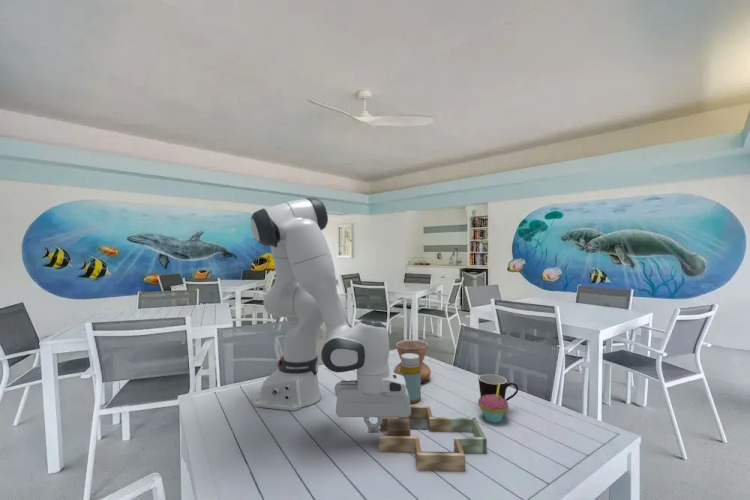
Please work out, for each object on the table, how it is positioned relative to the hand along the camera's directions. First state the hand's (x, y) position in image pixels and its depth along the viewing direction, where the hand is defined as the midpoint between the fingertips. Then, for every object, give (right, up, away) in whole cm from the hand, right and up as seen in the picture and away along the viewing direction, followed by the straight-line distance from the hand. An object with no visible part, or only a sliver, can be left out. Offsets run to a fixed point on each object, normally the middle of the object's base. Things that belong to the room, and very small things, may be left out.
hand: (373, 431), depth 92 cm
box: (+15, -2, 0) cm, 15 cm away
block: (+7, -2, 0) cm, 7 cm away
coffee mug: (+39, -2, +16) cm, 42 cm away
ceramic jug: (+15, -2, +43) cm, 45 cm away
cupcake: (+36, -2, +11) cm, 38 cm away
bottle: (+13, -2, +25) cm, 28 cm away
